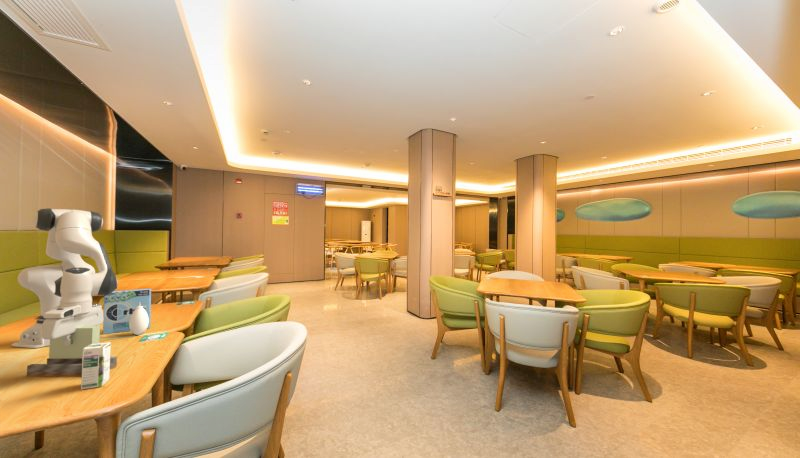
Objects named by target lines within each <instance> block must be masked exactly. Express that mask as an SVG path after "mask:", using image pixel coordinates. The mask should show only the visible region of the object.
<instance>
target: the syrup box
mask: <svg viewBox="0 0 800 458" xmlns="http://www.w3.org/2000/svg"><path fill="white" fill-rule="evenodd" d="M111 343H112V342H111V341H110V342H99V344H91V345H88V346H87V347H85V348H84V349H83V354H82V376H81V383H80V391H81V390H86V389H93V388H94V389H95V388H101V387H103V386H104V385H105V384H106V383H107V382H108V381H109V380H110V373H111V372H110V370H111V369H110V357H111V349H112V348H111V347H112V345H111Z"/></svg>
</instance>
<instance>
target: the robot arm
mask: <svg viewBox="0 0 800 458" xmlns="http://www.w3.org/2000/svg"><path fill="white" fill-rule="evenodd" d="M32 222H33V224H34V226H35V228H36V229H38V230H39V231H44V232H48V236H47V242H46V247H45V248H46V249H45V255H47V256H48V257H49V258H50V259H53V260H56V261H61V264H50V265H49V264H48V265H36V266H30V267H27V268H26V267H25V268H23V269H22V270H21V271H20V272H19V273H18V276H17V282H18V284H19V285H20V286H21V287H23V288H24V289H27V290H30V291H31V292H33V293H34V294H35V295H36V296H37V297H38V299H39V303H40V314H39V316H34V319H35V320H36V322H35V323H34V324H33V325H31V326H30V327H28V328H27V329H25V330H23V331H22V332H21V334H20V337H19V340H18V341H15V342H14V343H11V345H10V346H11V347H15V348H28V349H38V348H43V347H48V346H49V347H50V339H55V338H59V337H61V338H62V339H63V340H64V341H65V344H64V345H65V346H68V345H71V344H73V340H71V339H70V338H69V337H70V336H71V333H75V332H76V328H78V327H82V326H101V325H103V321H104V317H103V314H104V310H103V305H101V304H100V303H95V304H94V303H93V296H104V295H108V294H110V293H112V292H113V291H117V289H118V283H119V282H118V278H117V276H116V274H115V272H114V270H113V267H112V264H111V262H110V258H109V255H108V254H107V253H108V252H107V250H106V247H105V246H104V244H103V243H102V242H99V241H97V240H96V239H95V238H94V236H93V233H94V232H98V231H100V230H101V229H102V227H103V224H104V219H103V215H101V213H100V212H96V211H92V210H91V211H87V210H82V209H81V210H80V209H72V208H71V209H68V208H63V209H62V208H40V209H39V210H37V211H36V212H35V214H34V215H33V219H32ZM81 256H85V257H88V258H91V259H93V260H94V261H95V264H96V267H97V270H98V272H96V269H95V267H94V266H93V265H91V264H89V263H87V262H86V261H84V259H83V257H81Z"/></svg>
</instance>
